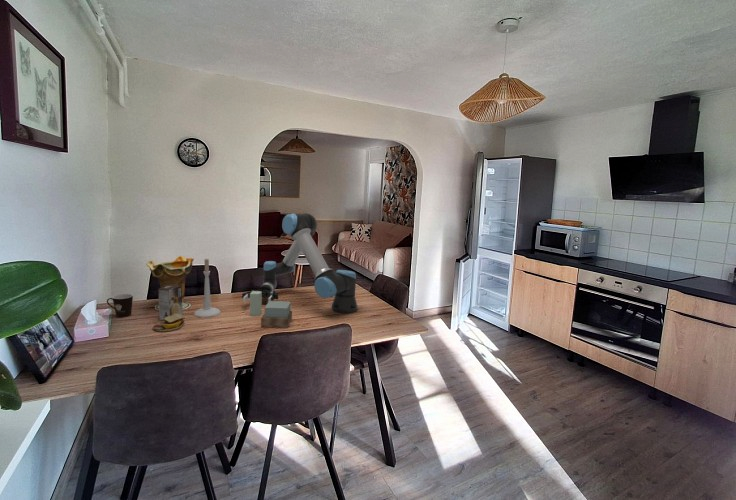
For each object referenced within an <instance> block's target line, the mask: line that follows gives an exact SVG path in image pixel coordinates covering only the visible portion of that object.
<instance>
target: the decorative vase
mask: <svg viewBox="0 0 736 500" xmlns="http://www.w3.org/2000/svg"><path fill="white" fill-rule="evenodd" d="M193 262H194V258H192V257H187V258H185V256H183V255H180V256H177V258H176V259H175V260H172V261H165V262H164V261H163V262H158V263H157V262H156V263H155V261H154V260H149V261H147V263H146V266H147V267H148V268H149V270H150V273H151V275H152V277H154V278H158V280H159V281H158V282H159V284H160V288H162V287H165V286H168V285H180V286H182V310H186V309H188V308H190V307H191V303H189V302H187V301H184V298H185V288H186V287H185V285H186V277H187V276H188V275H189V274H190V272H191V271H192V268H193ZM154 309H155V310H157V311H159V304H156V305H154Z"/></svg>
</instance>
